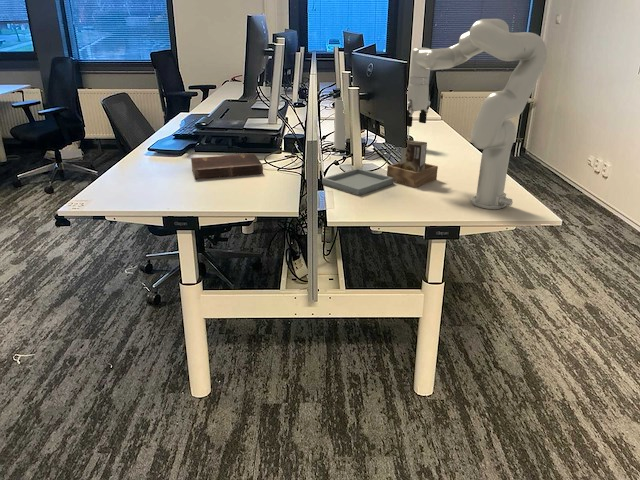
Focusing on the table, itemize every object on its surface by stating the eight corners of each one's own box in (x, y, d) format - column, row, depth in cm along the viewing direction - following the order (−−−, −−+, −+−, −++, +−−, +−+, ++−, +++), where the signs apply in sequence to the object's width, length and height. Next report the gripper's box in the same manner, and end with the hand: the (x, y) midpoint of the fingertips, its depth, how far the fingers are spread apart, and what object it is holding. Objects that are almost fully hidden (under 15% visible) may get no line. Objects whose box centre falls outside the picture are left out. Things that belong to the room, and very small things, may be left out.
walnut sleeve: (436, 179, 222) (437, 166, 220) (415, 187, 212) (416, 173, 210) (407, 172, 232) (408, 159, 229) (386, 179, 222) (387, 165, 220)
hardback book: (195, 180, 220) (194, 169, 218) (192, 168, 237) (191, 158, 235) (263, 175, 228) (262, 164, 226) (255, 164, 245) (254, 153, 243)
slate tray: (393, 183, 217) (393, 177, 216) (358, 195, 203) (358, 189, 202) (357, 173, 230) (357, 168, 229) (322, 184, 216) (322, 178, 215)
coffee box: (424, 179, 222) (427, 142, 216) (418, 183, 217) (422, 145, 211) (404, 176, 227) (407, 139, 220) (398, 179, 222) (401, 142, 215)
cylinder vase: (356, 151, 266) (358, 101, 256) (332, 150, 268) (333, 100, 258) (359, 145, 277) (360, 97, 267) (335, 144, 279) (336, 96, 269)
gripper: (424, 78, 214) (420, 120, 221) (398, 81, 203) (395, 126, 210) (439, 80, 209) (435, 123, 216) (414, 84, 198) (410, 129, 205)
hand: (415, 124), depth 213 cm, fingers open, 9 cm apart
